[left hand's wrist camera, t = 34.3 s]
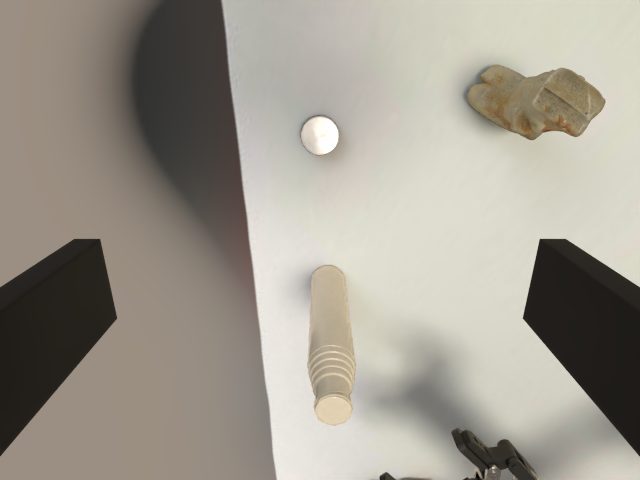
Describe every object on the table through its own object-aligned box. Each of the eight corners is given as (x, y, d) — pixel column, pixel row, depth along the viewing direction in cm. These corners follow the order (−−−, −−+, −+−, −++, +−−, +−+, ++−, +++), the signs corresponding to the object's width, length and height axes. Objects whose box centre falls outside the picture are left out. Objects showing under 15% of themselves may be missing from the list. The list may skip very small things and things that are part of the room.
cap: (334, 111, 44) (335, 112, 43) (341, 149, 46) (341, 151, 44) (297, 118, 45) (297, 120, 43) (305, 156, 46) (304, 158, 44)
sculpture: (494, 53, 42) (580, 41, 28) (541, 98, 44) (645, 107, 30) (454, 101, 44) (517, 112, 30) (501, 142, 45) (582, 170, 31)
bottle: (352, 278, 52) (373, 408, 31) (330, 301, 53) (336, 440, 33) (325, 258, 51) (329, 379, 30) (304, 282, 52) (294, 414, 32)
